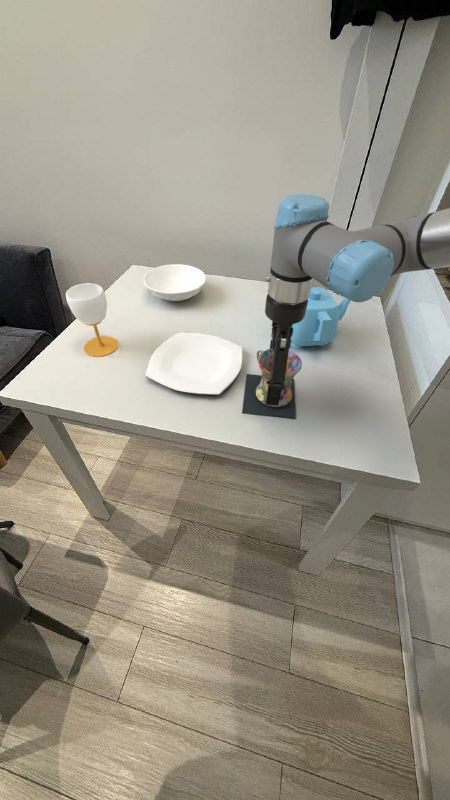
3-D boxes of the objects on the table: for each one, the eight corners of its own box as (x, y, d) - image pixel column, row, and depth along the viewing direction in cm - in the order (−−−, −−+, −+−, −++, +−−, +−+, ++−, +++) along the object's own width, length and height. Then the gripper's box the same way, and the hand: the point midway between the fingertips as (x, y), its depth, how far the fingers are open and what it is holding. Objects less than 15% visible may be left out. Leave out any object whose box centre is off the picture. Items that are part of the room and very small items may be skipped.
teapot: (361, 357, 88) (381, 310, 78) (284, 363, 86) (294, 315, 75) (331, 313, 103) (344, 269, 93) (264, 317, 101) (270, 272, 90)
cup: (76, 351, 87) (55, 295, 75) (98, 333, 93) (82, 279, 81) (103, 360, 84) (86, 305, 73) (125, 341, 90) (112, 287, 79)
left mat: (295, 419, 73) (296, 418, 72) (242, 413, 73) (242, 412, 73) (294, 379, 82) (294, 378, 81) (246, 375, 82) (246, 373, 82)
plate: (224, 408, 74) (225, 402, 73) (134, 384, 79) (132, 378, 77) (251, 349, 89) (252, 343, 88) (174, 332, 94) (173, 326, 93)
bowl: (210, 284, 115) (210, 266, 110) (200, 314, 101) (200, 295, 96) (155, 279, 116) (152, 261, 111) (138, 309, 102) (134, 290, 97)
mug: (301, 400, 76) (311, 365, 68) (270, 416, 72) (277, 381, 65) (268, 371, 83) (274, 336, 75) (239, 385, 79) (242, 350, 71)
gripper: (268, 264, 68) (258, 347, 83) (264, 333, 50) (252, 422, 66) (305, 267, 67) (288, 350, 82) (313, 337, 50) (290, 426, 65)
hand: (272, 382), depth 74 cm, fingers open, 13 cm apart
